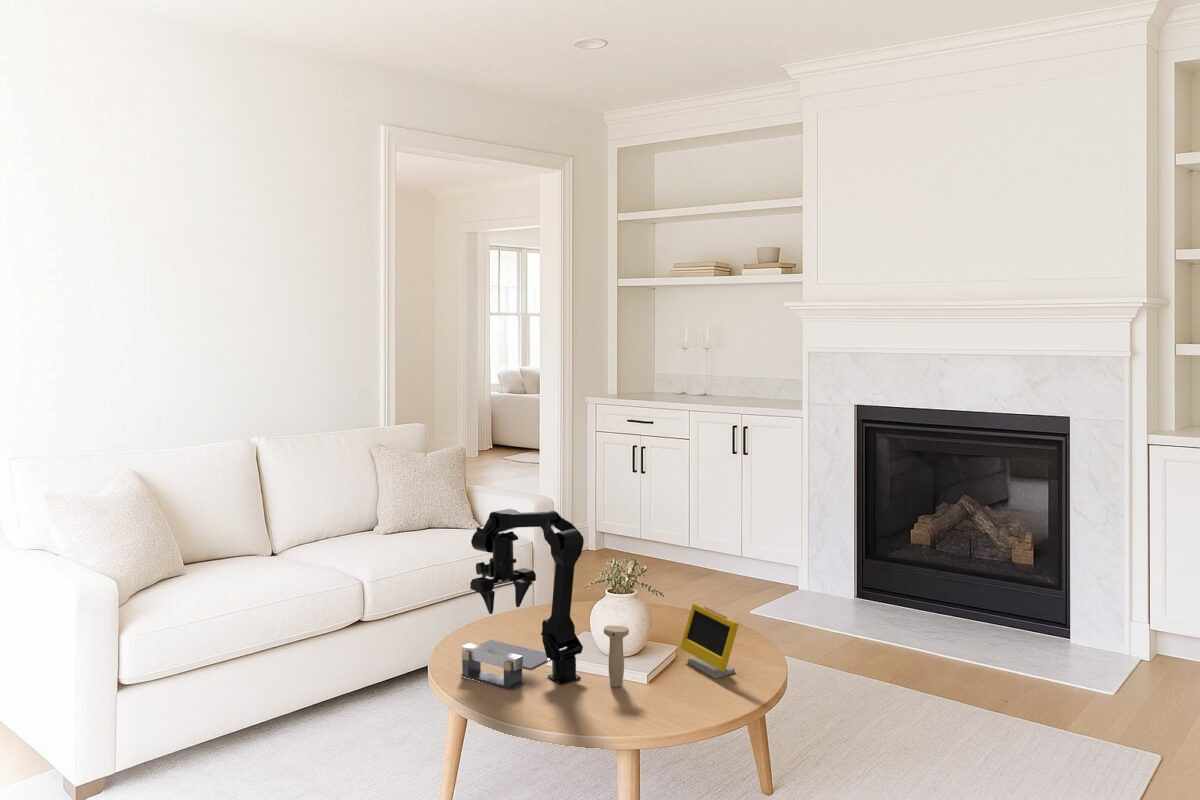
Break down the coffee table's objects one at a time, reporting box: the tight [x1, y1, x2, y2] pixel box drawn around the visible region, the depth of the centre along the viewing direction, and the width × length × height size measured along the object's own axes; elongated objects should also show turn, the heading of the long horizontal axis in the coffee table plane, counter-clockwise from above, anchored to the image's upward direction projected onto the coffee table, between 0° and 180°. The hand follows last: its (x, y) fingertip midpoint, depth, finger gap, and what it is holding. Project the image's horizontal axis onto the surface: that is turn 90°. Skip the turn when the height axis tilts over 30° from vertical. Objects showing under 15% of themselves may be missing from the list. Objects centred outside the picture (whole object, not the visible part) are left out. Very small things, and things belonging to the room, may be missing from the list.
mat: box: [479, 639, 548, 671], centre depth 267 cm, size 24×12×1 cm, turn 57°
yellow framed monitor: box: [680, 602, 739, 680], centre depth 255 cm, size 20×8×16 cm, turn 27°
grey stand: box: [460, 651, 525, 692], centre depth 247 cm, size 17×5×7 cm, turn 57°
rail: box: [461, 642, 523, 671], centre depth 247 cm, size 18×3×3 cm, turn 57°
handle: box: [603, 624, 630, 688], centre depth 243 cm, size 5×6×15 cm
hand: (504, 610), depth 263 cm, fingers open, 9 cm apart
